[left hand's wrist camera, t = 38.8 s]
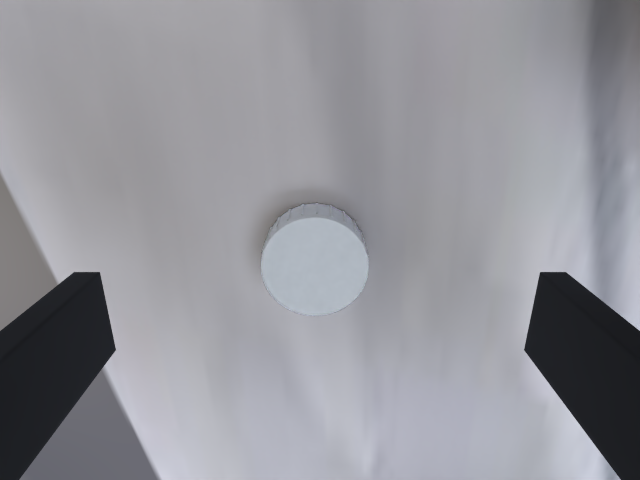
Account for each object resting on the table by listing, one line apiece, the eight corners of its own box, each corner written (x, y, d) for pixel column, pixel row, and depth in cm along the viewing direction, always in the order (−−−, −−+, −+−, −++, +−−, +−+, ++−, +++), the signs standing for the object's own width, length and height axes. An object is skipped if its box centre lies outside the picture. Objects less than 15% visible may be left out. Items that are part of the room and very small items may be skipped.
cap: (372, 207, 18) (378, 221, 16) (357, 298, 19) (362, 322, 17) (268, 196, 18) (263, 210, 16) (262, 289, 19) (256, 312, 17)
